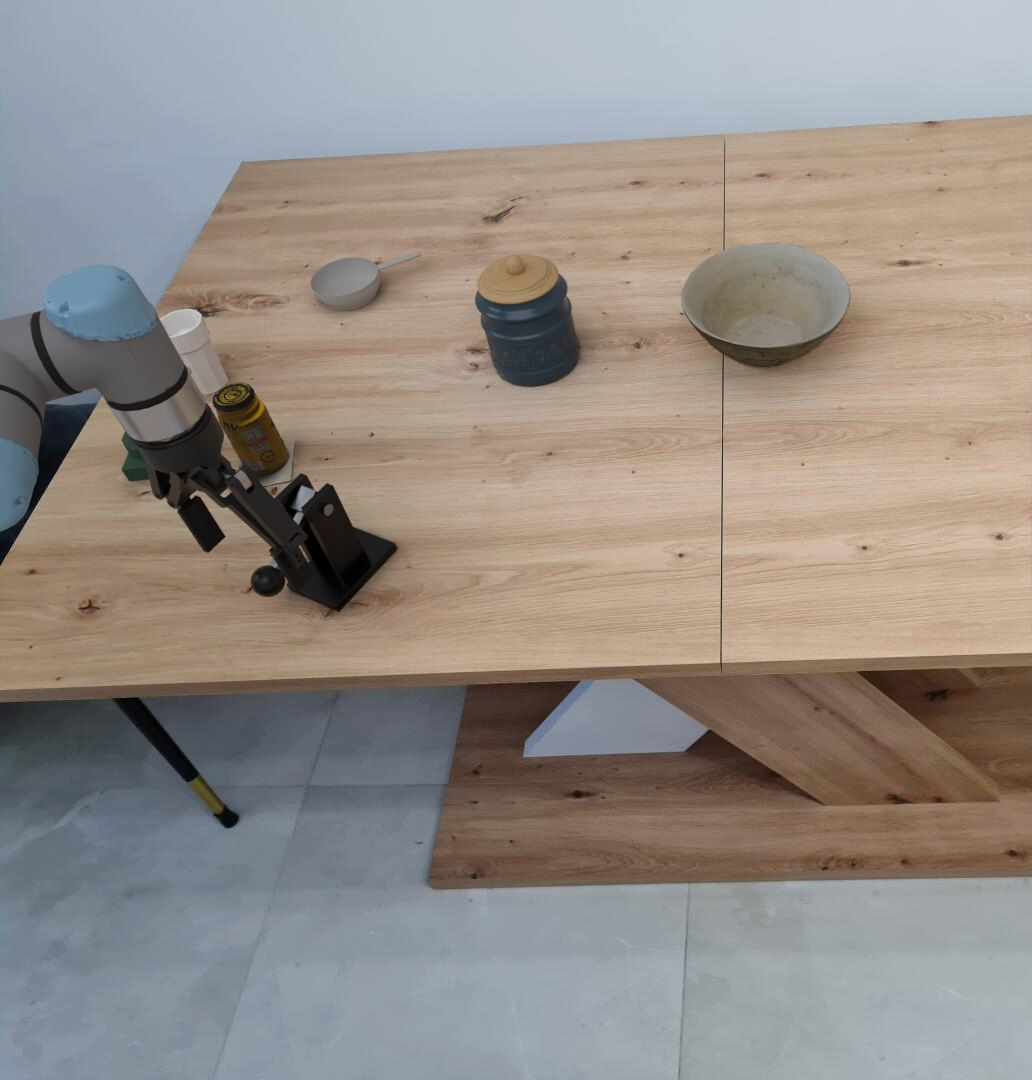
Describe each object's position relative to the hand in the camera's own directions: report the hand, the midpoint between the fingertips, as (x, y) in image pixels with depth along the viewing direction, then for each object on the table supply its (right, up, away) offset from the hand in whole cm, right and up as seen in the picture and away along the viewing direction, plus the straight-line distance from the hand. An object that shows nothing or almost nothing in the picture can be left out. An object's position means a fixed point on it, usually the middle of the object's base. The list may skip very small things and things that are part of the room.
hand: (258, 562), depth 116 cm
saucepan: (-5, +43, +54) cm, 70 cm away
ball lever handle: (+2, +2, +5) cm, 6 cm away
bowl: (+58, +31, +37) cm, 76 cm away
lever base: (+5, -1, +13) cm, 14 cm away
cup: (-25, +26, +40) cm, 54 cm away
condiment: (-11, +13, +27) cm, 32 cm away
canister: (+24, +29, +39) cm, 54 cm away
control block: (-27, +15, +30) cm, 43 cm away
